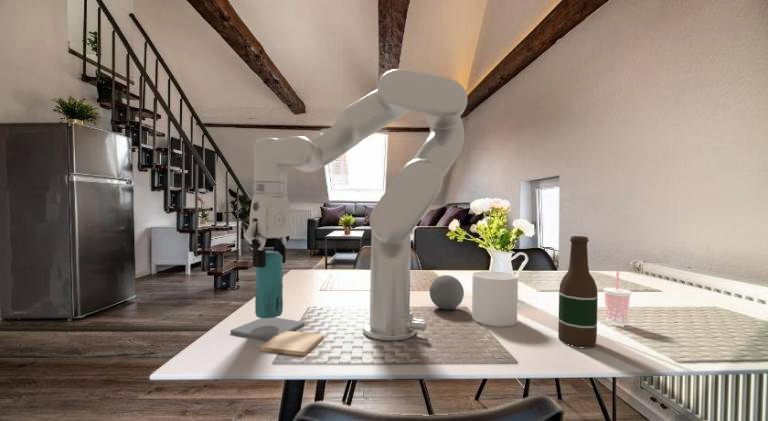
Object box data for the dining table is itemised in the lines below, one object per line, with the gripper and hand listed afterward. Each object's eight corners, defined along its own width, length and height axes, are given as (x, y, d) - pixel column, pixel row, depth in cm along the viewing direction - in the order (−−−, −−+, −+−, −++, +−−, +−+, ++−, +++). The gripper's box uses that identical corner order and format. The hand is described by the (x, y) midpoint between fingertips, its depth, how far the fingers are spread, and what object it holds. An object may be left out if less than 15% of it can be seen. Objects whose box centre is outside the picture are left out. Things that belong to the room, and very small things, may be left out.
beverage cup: (626, 329, 90) (627, 274, 89) (599, 323, 94) (600, 270, 94) (633, 324, 94) (634, 271, 93) (607, 319, 98) (608, 268, 98)
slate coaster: (304, 325, 89) (304, 322, 89) (271, 341, 78) (271, 338, 78) (266, 318, 94) (266, 315, 94) (230, 333, 83) (230, 330, 83)
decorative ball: (463, 305, 109) (463, 273, 109) (463, 315, 100) (464, 279, 99) (430, 303, 111) (431, 271, 111) (427, 312, 102) (428, 277, 102)
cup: (468, 323, 93) (469, 277, 93) (474, 311, 104) (475, 270, 104) (516, 329, 89) (517, 281, 89) (517, 316, 100) (518, 273, 99)
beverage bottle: (278, 325, 83) (279, 239, 82) (249, 324, 83) (250, 238, 83) (286, 316, 89) (287, 236, 89) (260, 316, 89) (261, 236, 89)
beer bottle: (582, 351, 75) (585, 238, 75) (550, 339, 82) (552, 235, 82) (604, 345, 79) (607, 237, 79) (572, 334, 86) (574, 234, 86)
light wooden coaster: (323, 338, 81) (323, 334, 81) (304, 355, 71) (304, 351, 71) (283, 333, 83) (283, 330, 83) (259, 350, 73) (259, 346, 73)
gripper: (256, 188, 76) (255, 272, 76) (305, 192, 92) (304, 261, 92) (230, 188, 79) (229, 269, 79) (281, 192, 95) (280, 259, 95)
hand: (269, 264), depth 86 cm, fingers closed on beverage bottle, 6 cm apart
